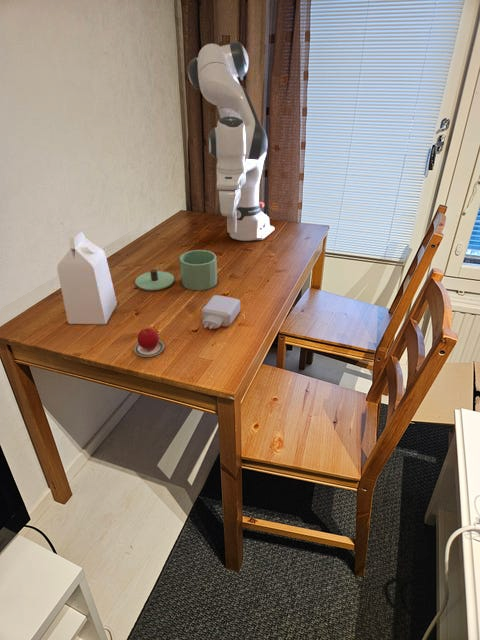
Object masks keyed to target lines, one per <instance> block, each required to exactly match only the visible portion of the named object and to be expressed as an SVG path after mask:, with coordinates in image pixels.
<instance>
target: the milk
mask: <svg viewBox="0 0 480 640" xmlns="http://www.w3.org/2000/svg"><path fill="white" fill-rule="evenodd" d="M68 239H69V250H68V251H67V252H66V254H65V255H64V256H63V257H62V258H61V260H60V261H58V264H57V267H56V269H57V270H56V271H57V274H58V275H57V276H58V280H59V284H60V290H61V294H62V295H61V296H62V299H63V304H64V305H63V306H64V310H65V315H66V319H67V320H66V321H67V324H72V325H73V324H74V325H107V324H108V321H109V320H110V318H111V316H112V314H113V313H114V311H115V309H116V307H117V305H118V302H117V298H116V293H115V289H114V284H113V280H112V276H111V271H110V267H109V263H108V260H107V255H106V253H105V251H104V250H103V248H100V246H98V245H96V244H95V243H94V242H93V241H91V240H89V239H88V238H86V236H85V234H84V232H83V230H76V231H75V232H74V233H73V234H72V235H71V236H70V237H69V238H68Z"/></svg>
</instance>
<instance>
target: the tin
mask: <svg viewBox="0 0 480 640" xmlns="http://www.w3.org/2000/svg"><path fill="white" fill-rule="evenodd" d="M179 267H180V268H179V269H180V279H181V285H182V286H183V287H184V288H185V289H187V290H191V291H192V290H193V291H206V290H209V289H212V288H214V287H215V286H216V285H217V284H218V259H217V254H215V253H214V252H213V251H211V250H206V249H193V250H189V251H186V252H184V253H182V254H181V255H180V256H179Z"/></svg>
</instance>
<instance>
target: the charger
mask: <svg viewBox="0 0 480 640" xmlns="http://www.w3.org/2000/svg"><path fill="white" fill-rule="evenodd" d="M240 312H241V300H240V299H238V298H235V297H230V296H224V295H218V294H214V295H213V296H211V298H210V299H209V300H208V301H207V302H206V303H205V305H204V306H203V307H202V309H201V320H202V321H201V324H202V325H203V326H204V327H203V328H204V329H206V328H209V330H212V329H218V328H220V327H230V326H231V325H232V323H233V322H234V320H235V319H236V317H238V315H239V313H240Z"/></svg>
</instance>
